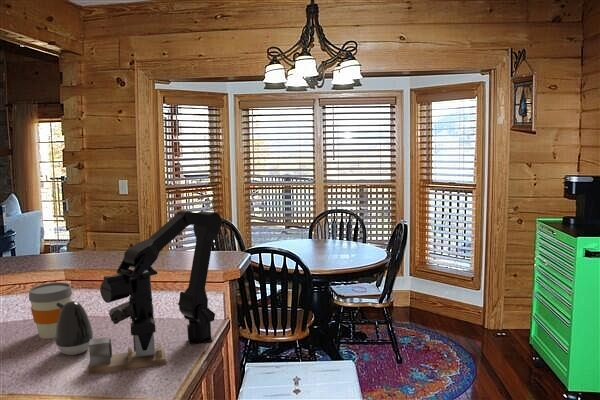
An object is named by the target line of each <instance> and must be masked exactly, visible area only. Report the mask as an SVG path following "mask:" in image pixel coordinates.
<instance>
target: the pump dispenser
mask: <svg viewBox="0 0 600 400" xmlns="http://www.w3.org/2000/svg"><path fill="white" fill-rule="evenodd" d="M56 306H58V307H59V308H60V309H61V311H60V314H59V317H58V321H57V325H56V334H55V338H54V341H55V345H56V346H57V348H58V350H59V351H60V352H61V353H62V354H65V355H68V356H74V355H76V356H77V355H80V354H82V353H84V352H86V351H87V350H88V349H89V342H90V339H94V332H93V328H92V325H91V321H90V319H89V316H88V314H87V312H86V309H85V308H84V306H83V305H82V304H81V303H80V302H78V301H74V300H71V301H70V302H67V303H66V304H65V305H63V304H61V303H57V304H56Z"/></svg>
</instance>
